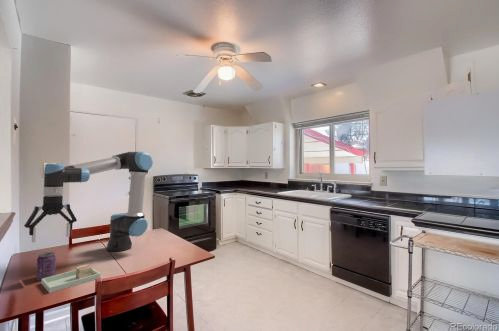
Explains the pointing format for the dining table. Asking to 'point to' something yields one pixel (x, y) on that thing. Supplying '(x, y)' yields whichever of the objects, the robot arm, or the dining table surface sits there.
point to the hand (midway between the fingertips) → (51, 239)
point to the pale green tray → (66, 280)
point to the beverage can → (45, 265)
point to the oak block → (83, 271)
